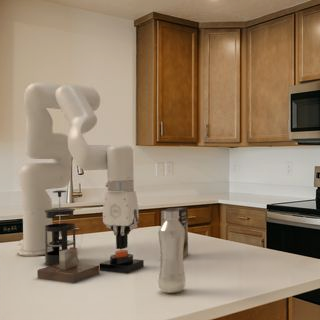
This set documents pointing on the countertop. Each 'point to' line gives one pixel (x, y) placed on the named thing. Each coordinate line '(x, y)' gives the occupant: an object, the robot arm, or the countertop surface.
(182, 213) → the coffee box
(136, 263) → the button box
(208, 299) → the countertop surface
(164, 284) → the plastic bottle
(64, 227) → the french press
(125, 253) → the button
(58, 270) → the dial panel
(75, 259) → the bar knob
